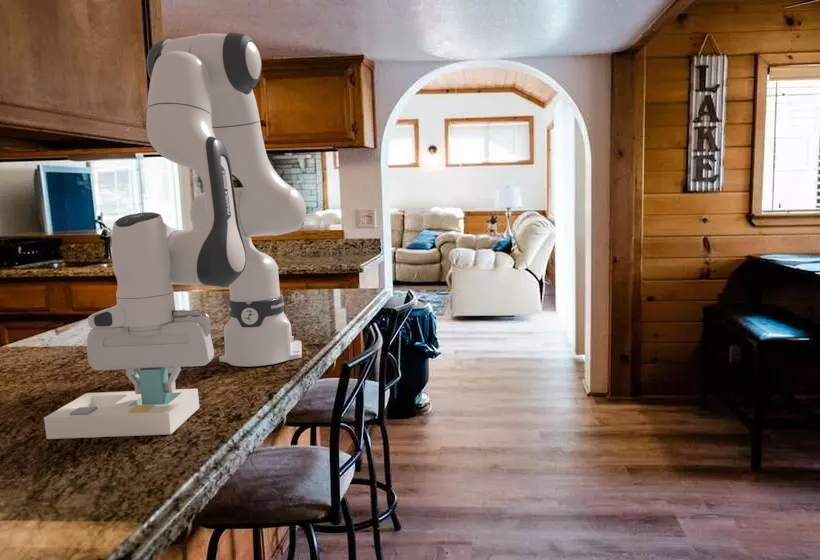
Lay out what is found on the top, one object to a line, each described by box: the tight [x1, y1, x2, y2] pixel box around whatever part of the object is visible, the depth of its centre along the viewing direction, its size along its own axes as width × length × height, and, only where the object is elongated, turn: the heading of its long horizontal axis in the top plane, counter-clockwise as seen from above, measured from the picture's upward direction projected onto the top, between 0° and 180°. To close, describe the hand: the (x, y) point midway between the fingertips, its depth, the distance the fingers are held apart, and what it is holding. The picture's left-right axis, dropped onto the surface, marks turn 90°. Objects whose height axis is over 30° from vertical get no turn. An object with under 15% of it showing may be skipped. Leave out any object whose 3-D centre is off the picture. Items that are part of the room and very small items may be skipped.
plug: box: [138, 367, 171, 405], centre depth 111 cm, size 3×3×8 cm
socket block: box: [43, 388, 200, 440], centre depth 111 cm, size 13×20×4 cm, turn 88°
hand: (155, 392), depth 112 cm, fingers closed on plug, 3 cm apart
